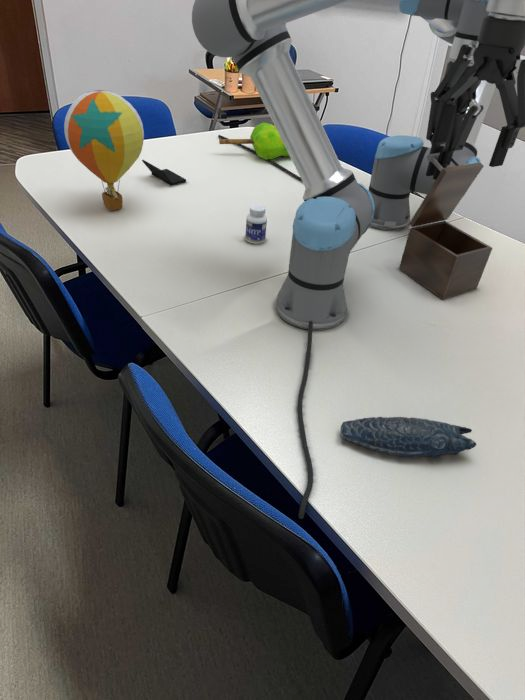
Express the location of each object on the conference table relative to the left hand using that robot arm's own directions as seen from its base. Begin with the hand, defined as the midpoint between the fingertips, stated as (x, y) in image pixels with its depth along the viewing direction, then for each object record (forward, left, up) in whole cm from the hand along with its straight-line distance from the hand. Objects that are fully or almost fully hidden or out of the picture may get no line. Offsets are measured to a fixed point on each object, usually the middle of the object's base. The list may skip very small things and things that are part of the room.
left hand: (466, 153), depth 95 cm
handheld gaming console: (+54, +75, -34) cm, 99 cm away
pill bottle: (+22, +41, -34) cm, 58 cm away
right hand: (+22, 0, -12) cm, 25 cm away
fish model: (-42, +6, -34) cm, 55 cm away
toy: (+29, +82, -34) cm, 94 cm away
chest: (+15, -6, -34) cm, 38 cm away
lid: (+18, -3, -15) cm, 24 cm away
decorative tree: (+88, +50, -34) cm, 107 cm away
